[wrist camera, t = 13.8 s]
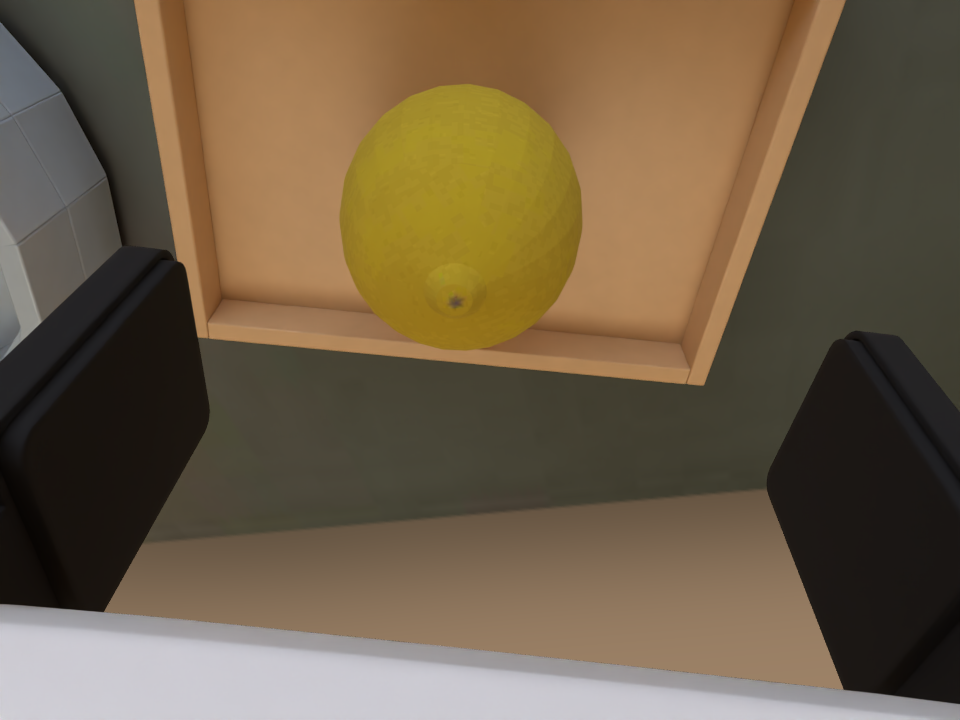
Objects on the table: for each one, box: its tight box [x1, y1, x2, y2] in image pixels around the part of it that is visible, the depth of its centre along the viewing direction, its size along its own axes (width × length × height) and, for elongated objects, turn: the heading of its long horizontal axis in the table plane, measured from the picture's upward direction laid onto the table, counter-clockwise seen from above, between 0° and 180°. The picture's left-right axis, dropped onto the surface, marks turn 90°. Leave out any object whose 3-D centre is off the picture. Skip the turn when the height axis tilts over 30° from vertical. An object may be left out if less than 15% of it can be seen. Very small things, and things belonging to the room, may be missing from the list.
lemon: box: [339, 84, 583, 351], centre depth 16 cm, size 6×6×8 cm
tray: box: [134, 0, 846, 385], centre depth 19 cm, size 16×12×2 cm
